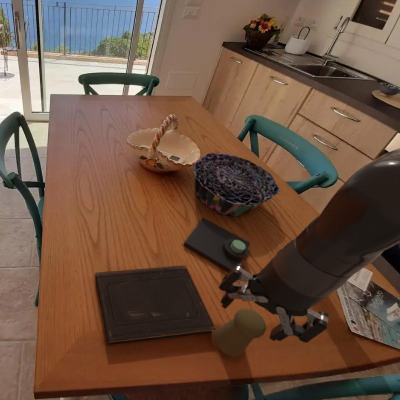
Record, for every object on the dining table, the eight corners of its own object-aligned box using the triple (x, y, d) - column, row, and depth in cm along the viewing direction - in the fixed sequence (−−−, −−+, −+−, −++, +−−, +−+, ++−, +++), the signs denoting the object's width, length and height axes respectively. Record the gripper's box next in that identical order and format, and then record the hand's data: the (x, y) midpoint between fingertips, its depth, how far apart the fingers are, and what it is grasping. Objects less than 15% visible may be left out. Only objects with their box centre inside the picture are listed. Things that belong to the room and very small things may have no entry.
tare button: (244, 248, 72) (247, 244, 71) (240, 255, 70) (243, 251, 69) (232, 241, 74) (235, 237, 72) (228, 248, 72) (231, 244, 70)
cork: (245, 361, 54) (275, 341, 46) (213, 350, 55) (238, 329, 48) (242, 332, 58) (269, 309, 51) (213, 322, 59) (235, 299, 52)
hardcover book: (211, 333, 58) (215, 328, 56) (107, 345, 55) (109, 341, 53) (182, 269, 69) (184, 263, 68) (94, 276, 66) (95, 271, 65)
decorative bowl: (272, 199, 94) (289, 176, 88) (248, 238, 78) (267, 213, 72) (203, 167, 107) (214, 145, 100) (170, 195, 90) (181, 170, 84)
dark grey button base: (250, 246, 76) (255, 240, 74) (235, 276, 69) (240, 270, 66) (201, 220, 83) (204, 213, 81) (183, 245, 75) (186, 238, 73)
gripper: (244, 259, 40) (203, 308, 51) (361, 326, 33) (285, 365, 44) (258, 231, 44) (217, 282, 55) (364, 285, 38) (294, 330, 49)
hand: (247, 319), depth 50 cm, fingers open, 8 cm apart
